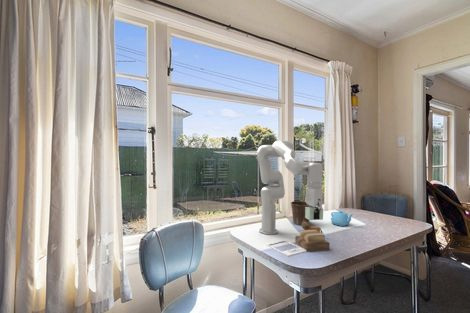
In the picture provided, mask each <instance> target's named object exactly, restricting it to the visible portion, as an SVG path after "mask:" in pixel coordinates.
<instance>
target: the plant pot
mask: <svg viewBox="0 0 470 313" xmlns="http://www.w3.org/2000/svg"><path fill="white" fill-rule="evenodd" d="M290 205H291V206H290V207H291V211H292V212H291V213H292V223H293V224H294V225H296V226H301V227H302V222H307V223H309V224H310V220H308V219H307V218H305V207H308V204H307V203H306V201H302V200H301V201H300V200H295V201H291V202H290Z"/></svg>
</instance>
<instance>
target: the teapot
mask: <svg viewBox="0 0 470 313" xmlns="http://www.w3.org/2000/svg"><path fill="white" fill-rule="evenodd" d="M330 215H331V217H330V222H331V223H332V225H334V224H335V225H336V226H338V225H339V226H338V227H346V226H345V225H347V226H349V225H350V223H351V221H352V216H353V215H354V214H353V213H350V214H348V213H347V212H345V211H343V210H338V211H332V212H331V213H330Z"/></svg>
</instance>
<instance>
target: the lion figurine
mask: <svg viewBox="0 0 470 313" xmlns="http://www.w3.org/2000/svg"><path fill="white" fill-rule="evenodd" d="M301 228H302V230H317V231H319V232H320V233H322V234H323V231H322V228H321V226H319V225H318V226H315V225H314V226H313V225H312V224H310V222H309V223H307V222H302V226H301ZM324 238H325V235H324Z"/></svg>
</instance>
